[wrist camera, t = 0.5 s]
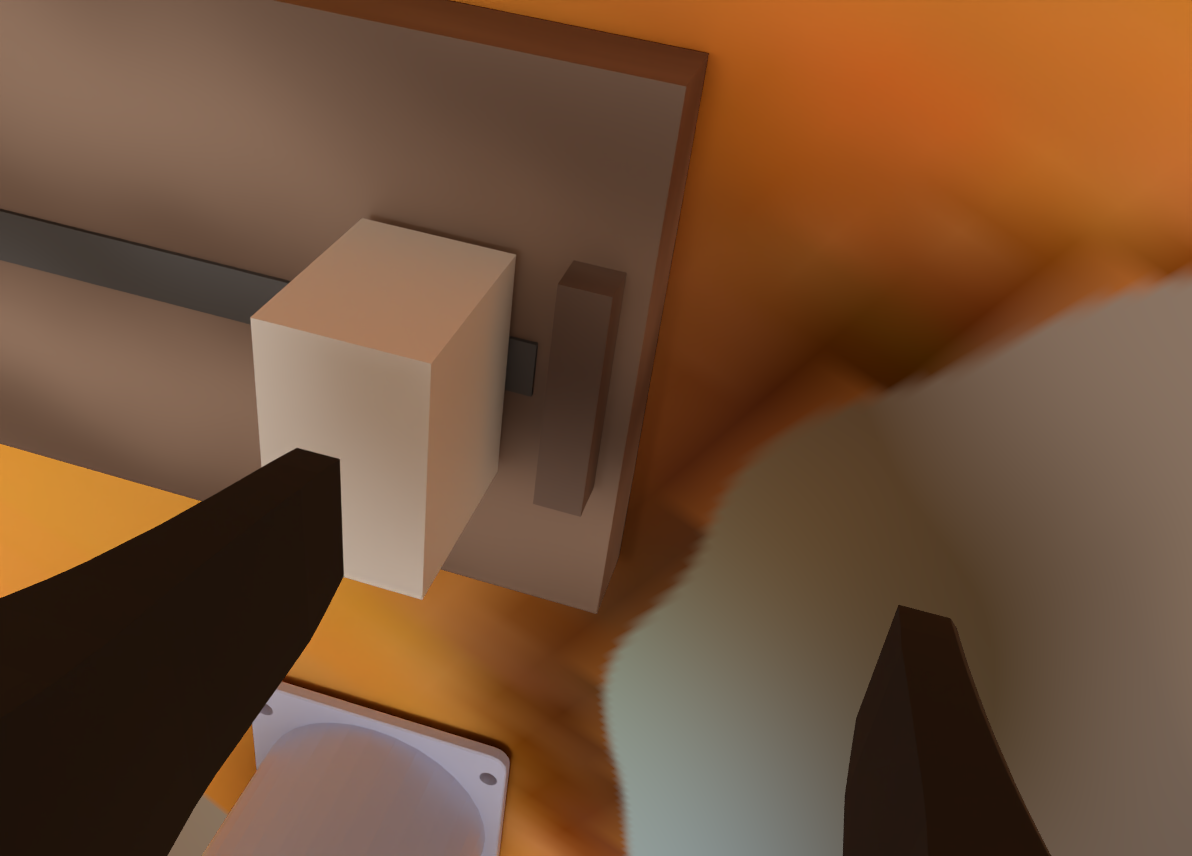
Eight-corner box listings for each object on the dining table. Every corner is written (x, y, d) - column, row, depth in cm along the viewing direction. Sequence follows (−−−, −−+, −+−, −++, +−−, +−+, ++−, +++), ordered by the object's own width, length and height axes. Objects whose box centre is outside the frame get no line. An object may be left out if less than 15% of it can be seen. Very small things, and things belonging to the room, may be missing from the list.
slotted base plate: (618, 557, 26) (584, 644, 24) (-231, 322, 30) (-336, 377, 27) (708, 53, 19) (673, 105, 17) (-417, -176, 23) (-579, -161, 20)
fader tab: (497, 471, 23) (422, 599, 19) (363, 435, 23) (267, 555, 20) (516, 255, 20) (431, 363, 17) (362, 218, 20) (250, 317, 17)
